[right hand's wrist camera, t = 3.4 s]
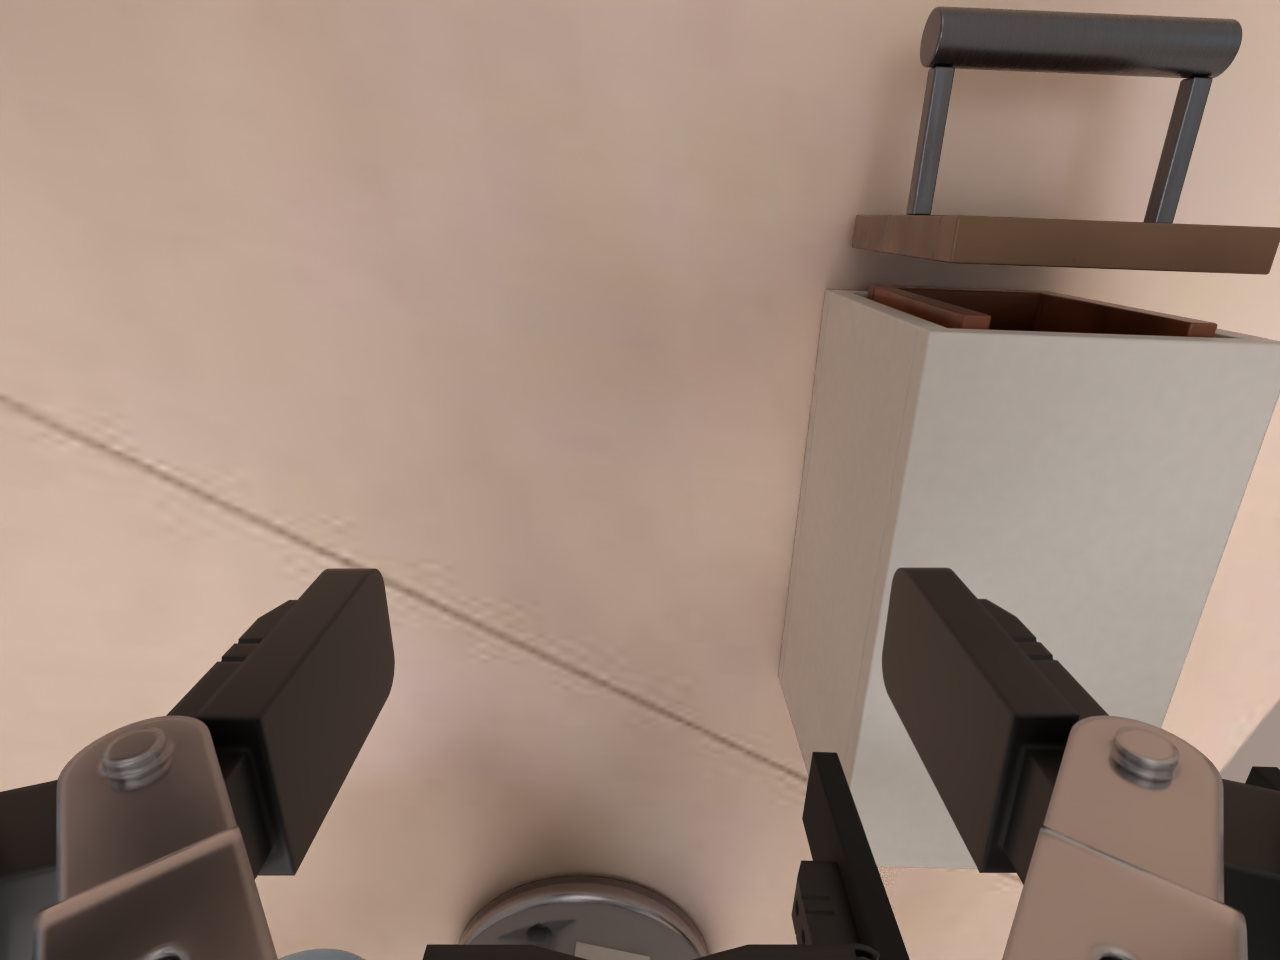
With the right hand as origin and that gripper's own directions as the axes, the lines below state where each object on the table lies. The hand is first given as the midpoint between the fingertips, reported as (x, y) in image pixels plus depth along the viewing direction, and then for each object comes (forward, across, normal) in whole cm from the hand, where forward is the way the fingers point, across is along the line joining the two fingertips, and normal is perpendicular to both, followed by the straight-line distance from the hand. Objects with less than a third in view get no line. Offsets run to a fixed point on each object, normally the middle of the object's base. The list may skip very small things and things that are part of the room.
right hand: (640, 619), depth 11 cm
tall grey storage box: (+20, +12, -6) cm, 25 cm away
